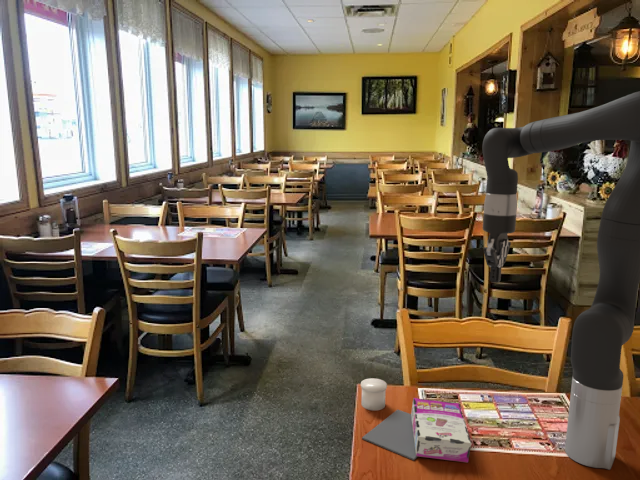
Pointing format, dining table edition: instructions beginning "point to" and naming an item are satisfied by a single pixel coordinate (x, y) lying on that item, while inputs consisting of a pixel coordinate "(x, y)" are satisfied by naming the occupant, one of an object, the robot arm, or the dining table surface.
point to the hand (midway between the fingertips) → (495, 281)
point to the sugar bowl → (373, 394)
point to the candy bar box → (440, 430)
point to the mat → (394, 434)
